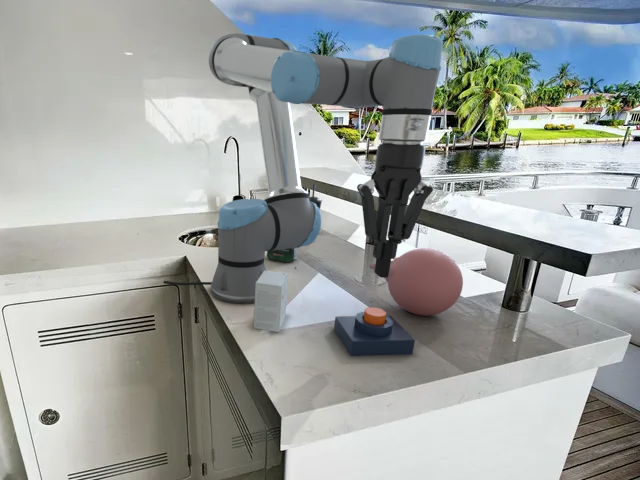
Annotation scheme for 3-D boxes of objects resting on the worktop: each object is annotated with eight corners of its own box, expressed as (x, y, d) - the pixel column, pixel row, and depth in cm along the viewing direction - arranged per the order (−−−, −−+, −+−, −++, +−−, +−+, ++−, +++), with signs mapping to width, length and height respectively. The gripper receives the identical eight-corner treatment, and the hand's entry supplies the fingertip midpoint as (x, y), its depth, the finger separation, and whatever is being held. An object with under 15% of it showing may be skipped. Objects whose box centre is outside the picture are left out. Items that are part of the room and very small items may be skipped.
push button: (350, 356, 71) (353, 332, 69) (333, 330, 80) (336, 308, 78) (412, 354, 72) (416, 331, 70) (388, 328, 81) (391, 307, 80)
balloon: (370, 290, 101) (379, 234, 96) (455, 307, 92) (469, 246, 87) (357, 312, 89) (366, 249, 84) (454, 334, 80) (470, 265, 74)
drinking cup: (320, 234, 157) (325, 185, 150) (302, 233, 157) (306, 184, 150) (317, 229, 164) (321, 183, 158) (299, 229, 164) (303, 182, 158)
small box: (261, 312, 87) (263, 269, 84) (285, 316, 86) (288, 272, 82) (252, 328, 80) (254, 282, 76) (278, 333, 78) (282, 286, 75)
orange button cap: (368, 326, 72) (369, 316, 72) (360, 316, 76) (361, 307, 75) (388, 325, 73) (390, 316, 72) (379, 316, 76) (380, 307, 76)
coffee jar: (263, 259, 124) (265, 202, 118) (273, 253, 131) (276, 199, 124) (290, 264, 120) (295, 206, 113) (299, 258, 126) (304, 202, 120)
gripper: (373, 142, 59) (354, 282, 67) (452, 144, 60) (425, 281, 68) (355, 141, 66) (340, 268, 74) (426, 143, 67) (404, 267, 75)
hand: (381, 274), depth 71 cm, fingers closed
